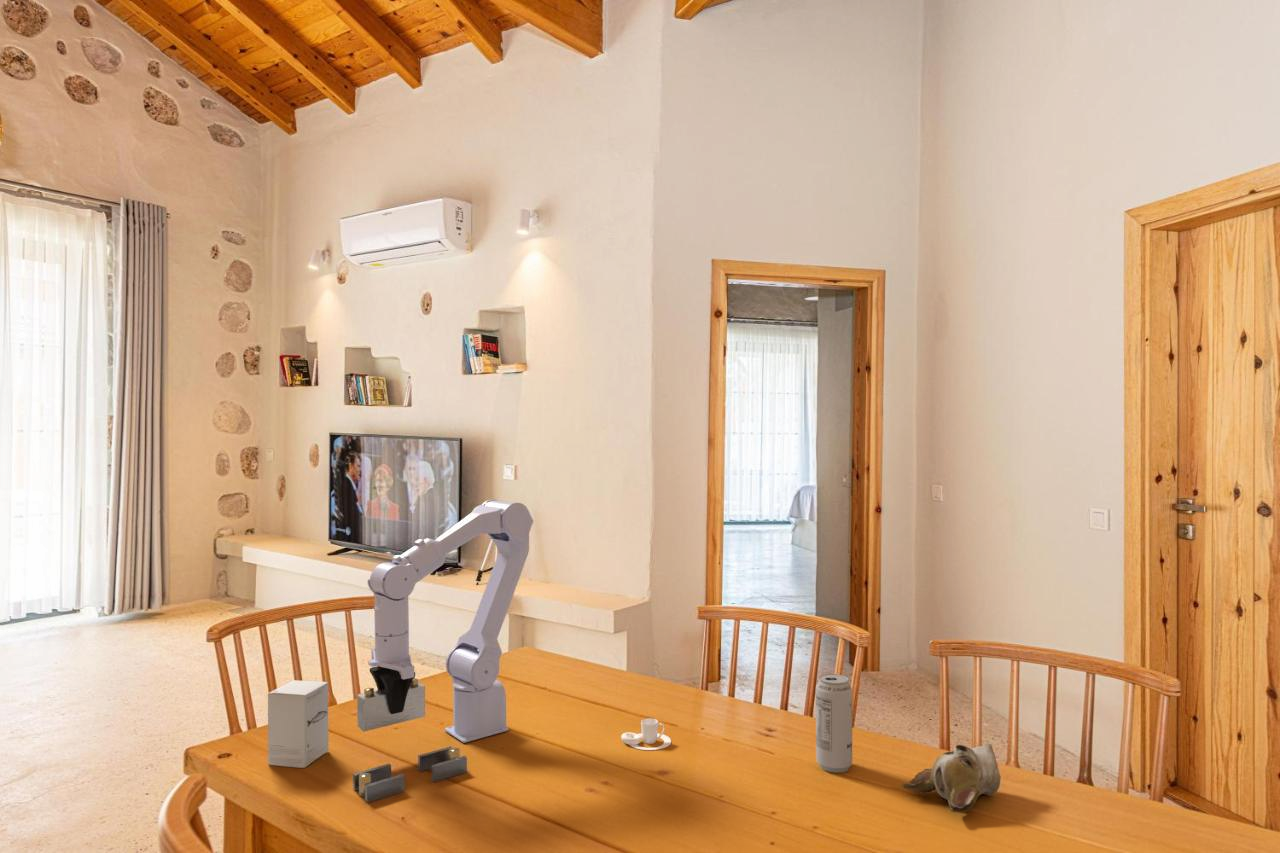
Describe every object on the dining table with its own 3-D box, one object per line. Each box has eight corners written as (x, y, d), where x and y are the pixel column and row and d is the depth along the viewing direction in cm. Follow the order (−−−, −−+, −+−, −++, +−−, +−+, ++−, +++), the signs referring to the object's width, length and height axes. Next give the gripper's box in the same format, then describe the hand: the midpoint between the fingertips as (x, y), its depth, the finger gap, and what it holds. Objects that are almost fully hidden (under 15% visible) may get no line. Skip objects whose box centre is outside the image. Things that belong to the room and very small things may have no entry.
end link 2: (451, 760, 143) (451, 743, 142) (467, 772, 138) (467, 754, 138) (418, 770, 139) (417, 752, 139) (433, 782, 134) (433, 764, 134)
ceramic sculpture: (1019, 745, 126) (953, 772, 119) (1022, 800, 126) (956, 831, 119) (962, 723, 135) (897, 747, 128) (964, 775, 136) (900, 802, 128)
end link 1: (389, 778, 136) (389, 760, 135) (404, 791, 131) (404, 772, 131) (352, 789, 132) (352, 770, 132) (366, 803, 127) (366, 783, 127)
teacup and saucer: (616, 748, 148) (616, 725, 148) (633, 732, 156) (633, 710, 156) (662, 755, 145) (662, 732, 145) (677, 738, 152) (677, 717, 152)
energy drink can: (857, 773, 136) (857, 683, 136) (821, 774, 136) (821, 684, 136) (845, 758, 142) (845, 672, 142) (811, 759, 142) (811, 673, 142)
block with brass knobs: (418, 711, 148) (417, 676, 148) (425, 716, 146) (424, 680, 146) (357, 726, 141) (357, 688, 141) (363, 731, 139) (363, 693, 139)
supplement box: (305, 769, 139) (304, 695, 139) (266, 765, 141) (265, 692, 141) (330, 751, 147) (329, 681, 146) (293, 748, 148) (292, 678, 148)
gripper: (354, 627, 147) (355, 703, 147) (385, 645, 135) (386, 727, 136) (392, 621, 151) (393, 694, 151) (425, 638, 140) (426, 717, 140)
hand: (392, 709), depth 144 cm, fingers closed on block with brass knobs, 3 cm apart
